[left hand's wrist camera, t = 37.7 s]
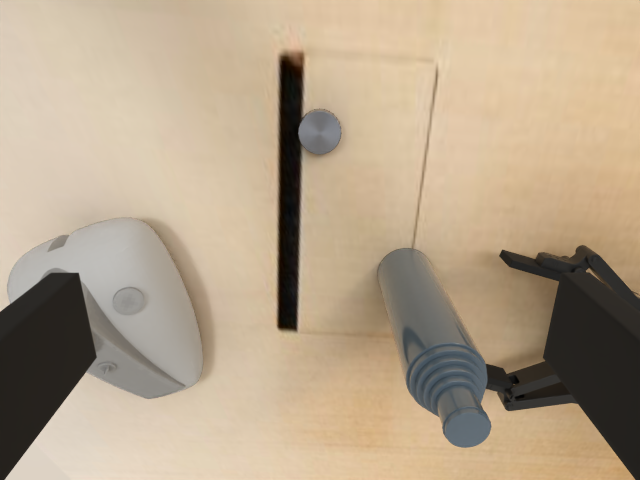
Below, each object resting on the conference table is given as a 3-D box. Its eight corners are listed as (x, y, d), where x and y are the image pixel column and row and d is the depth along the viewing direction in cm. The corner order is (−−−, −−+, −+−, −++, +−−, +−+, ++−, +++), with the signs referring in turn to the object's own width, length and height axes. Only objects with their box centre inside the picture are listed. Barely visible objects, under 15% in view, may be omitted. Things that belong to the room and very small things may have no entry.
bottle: (410, 305, 55) (475, 478, 32) (367, 281, 54) (402, 442, 31) (442, 264, 53) (535, 418, 30) (397, 238, 52) (459, 377, 29)
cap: (348, 122, 47) (349, 124, 45) (327, 158, 49) (327, 162, 47) (311, 100, 47) (311, 102, 45) (291, 138, 48) (290, 141, 46)
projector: (23, 342, 57) (-71, 430, 43) (54, 175, 49) (-48, 218, 36) (193, 394, 60) (156, 492, 46) (248, 245, 52) (222, 309, 39)
